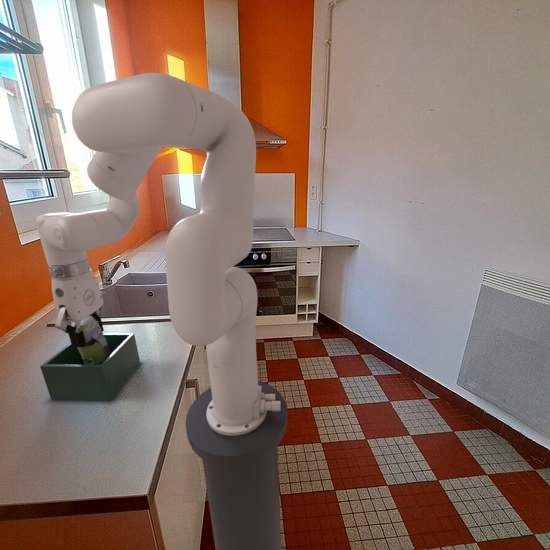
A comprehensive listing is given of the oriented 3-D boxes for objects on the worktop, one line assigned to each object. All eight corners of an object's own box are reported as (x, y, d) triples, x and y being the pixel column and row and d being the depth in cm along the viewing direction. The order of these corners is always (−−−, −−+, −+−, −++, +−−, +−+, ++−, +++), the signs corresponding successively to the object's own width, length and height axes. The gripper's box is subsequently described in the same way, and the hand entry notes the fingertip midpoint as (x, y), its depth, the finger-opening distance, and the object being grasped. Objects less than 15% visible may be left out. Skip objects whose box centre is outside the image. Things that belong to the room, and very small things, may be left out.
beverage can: (117, 357, 78) (108, 314, 74) (89, 372, 71) (78, 326, 68) (100, 352, 80) (91, 311, 77) (73, 367, 74) (61, 322, 71)
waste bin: (140, 363, 84) (134, 333, 81) (111, 400, 70) (102, 366, 67) (90, 362, 85) (82, 333, 82) (51, 400, 71) (39, 366, 68)
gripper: (58, 282, 59) (80, 359, 65) (108, 258, 76) (122, 322, 81) (22, 282, 60) (47, 359, 66) (79, 258, 76) (95, 322, 82)
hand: (88, 338), depth 74 cm, fingers closed on beverage can, 6 cm apart
